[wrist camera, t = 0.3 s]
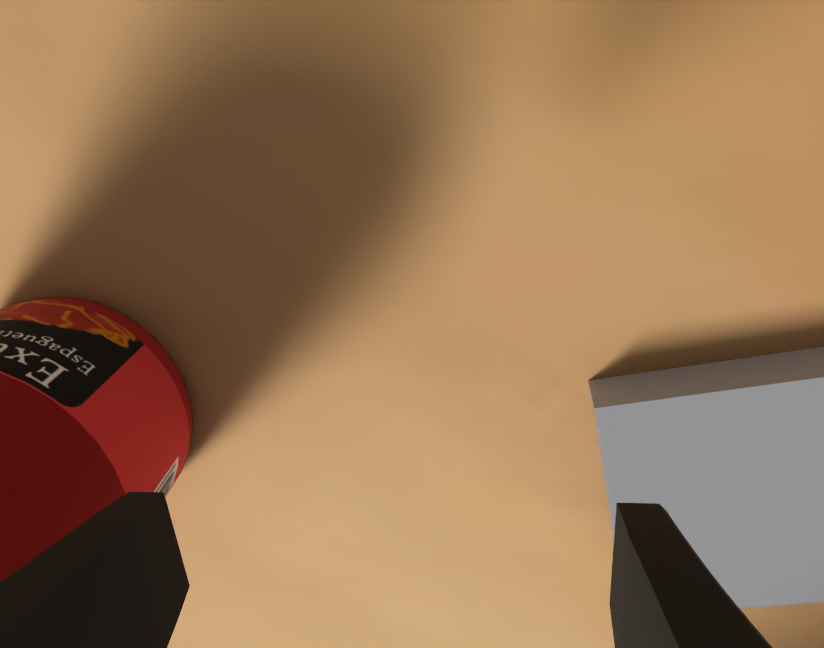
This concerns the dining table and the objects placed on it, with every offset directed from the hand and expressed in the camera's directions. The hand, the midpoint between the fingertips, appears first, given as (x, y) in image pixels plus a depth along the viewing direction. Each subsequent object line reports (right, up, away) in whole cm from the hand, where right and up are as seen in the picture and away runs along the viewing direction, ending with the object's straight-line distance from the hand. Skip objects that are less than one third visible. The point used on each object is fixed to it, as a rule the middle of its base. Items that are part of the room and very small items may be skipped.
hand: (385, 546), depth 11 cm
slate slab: (+11, -1, +11) cm, 15 cm away
